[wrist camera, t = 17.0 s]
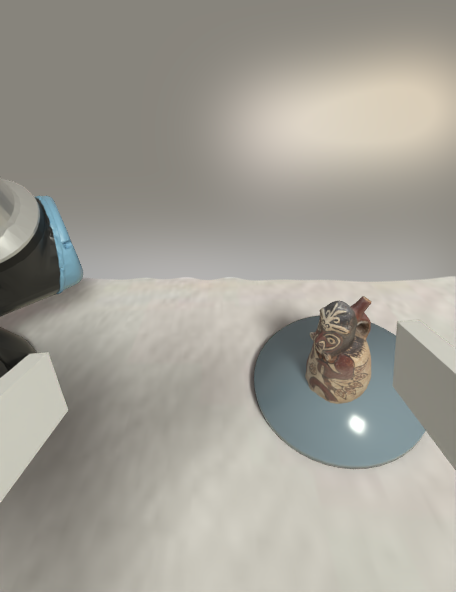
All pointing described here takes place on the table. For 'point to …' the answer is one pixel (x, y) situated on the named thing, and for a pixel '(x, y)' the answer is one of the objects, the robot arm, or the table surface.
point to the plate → (330, 416)
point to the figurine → (340, 352)
